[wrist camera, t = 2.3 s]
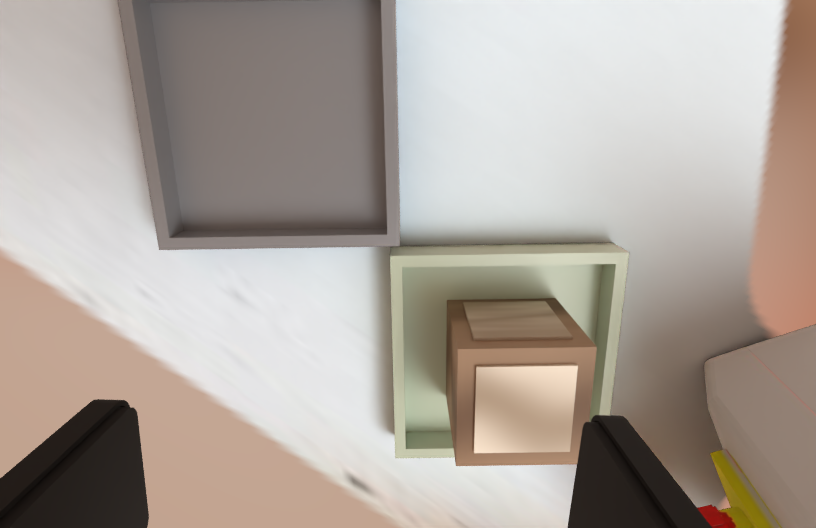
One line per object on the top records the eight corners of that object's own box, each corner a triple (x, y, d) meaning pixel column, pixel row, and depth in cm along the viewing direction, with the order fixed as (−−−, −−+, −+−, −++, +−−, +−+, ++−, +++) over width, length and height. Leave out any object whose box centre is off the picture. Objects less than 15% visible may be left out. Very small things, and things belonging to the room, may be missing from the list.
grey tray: (138, -9, 23) (114, -21, 21) (395, -14, 23) (394, -26, 21) (177, 240, 26) (159, 249, 24) (400, 236, 26) (399, 246, 24)
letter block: (446, 297, 27) (458, 347, 21) (556, 295, 27) (598, 345, 21) (446, 395, 28) (456, 468, 22) (548, 394, 28) (585, 466, 22)
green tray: (391, 246, 26) (390, 256, 24) (613, 242, 26) (629, 252, 24) (396, 436, 30) (395, 458, 28) (592, 433, 30) (605, 455, 28)
